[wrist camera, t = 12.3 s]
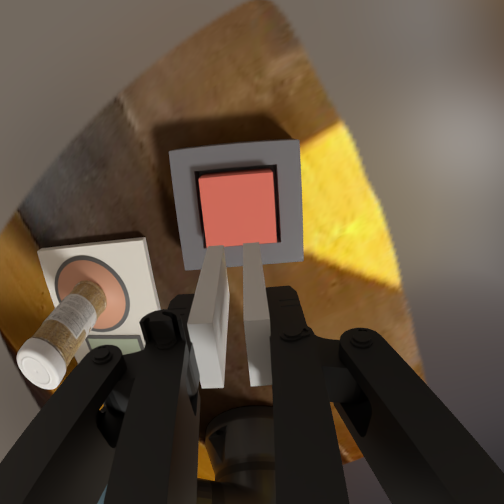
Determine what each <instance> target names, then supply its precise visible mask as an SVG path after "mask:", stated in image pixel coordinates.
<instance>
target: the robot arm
mask: <svg viewBox="0 0 504 504" xmlns="http://www.w3.org/2000/svg"><path fill="white" fill-rule="evenodd" d="M229 296H230V295H229V287H228V278H227V270H226V261H225V252H224V245H218V246H208V248H207V251H206V255H205V259H204V262H203V266H202V269H201V273H200V277H199V280H198V284H197V288H196V292H195V294H182V295H177V296H176V297H175V298H174V299H173V300H171V301H170V304H169V307H168V310H165V309H163V310H157V311H154V312H151V313H148V314H147V315H145V316H144V317H142V319H141V320H140V322H139V323H140V327H141V330H142V334H143V337H144V340H145V343H146V344H145V347H144V350H141V351H138V352H134V353H130V354H125V355H123V354H122V351H121V349H120V348H119V347H117V346H114V345H102V346H98V347H96V348H94V349H92V350H91V351H90V352H88V353H87V354H86V355H85V357H84V358H83V359H82V360H81V361H80V362H79V364H78V365H77V366H76V367H75V368H74V370H73V371H72V372H71V373H70V374H69V376H68V377H67V378H66V379H65V380H64V382H63V383H62V384H61V385H60V387H59V388H58V389H57V390H56V391H55V393H54V394H53V395H52V396H51V398H50V399H49V400H48V401H47V403H46V404H45V405H44V406H43V408H42V409H41V410H40V411H39V413H38V414H37V416H36V417H35V418H34V419H33V420H32V422H31V423H30V424H29V426H28V427H27V428H26V430H25V431H24V432H23V433H22V435H21V436H20V437H19V439H18V440H17V441H16V443H15V444H14V445H13V447H12V448H11V449H10V451H9V452H8V453H7V455H6V456H5V458H4V459H3V461H2V462H1V463H0V504H349V499H348V493H347V488H346V482H345V477H344V471H343V466H342V461H341V456H340V450H339V445H338V440H337V435H336V430H335V425H334V421H333V416H332V411H331V406H330V402H333V403H334V406H335V408H336V409H337V411H338V413H339V415H340V416H341V418H342V420H343V421H344V423H345V425H346V427H347V428H348V430H349V432H350V433H351V435H352V437H353V439H354V440H355V442H356V444H357V445H358V447H359V449H360V450H361V452H362V454H363V456H364V457H365V459H366V461H367V462H368V464H369V465H370V467H371V469H372V471H373V472H374V474H375V476H376V477H377V479H378V481H379V483H380V484H381V486H382V488H383V489H384V491H385V492H386V494H387V496H388V498H389V500H390V501H391V503H392V504H504V473H503V472H502V471H501V469H500V468H499V467H498V466H497V465H496V463H495V462H494V461H493V460H492V459H491V458H490V456H489V455H488V454H487V453H486V452H485V450H484V449H483V448H482V447H481V446H480V445H479V444H478V442H477V441H476V440H475V439H474V438H473V436H472V435H471V434H470V433H469V432H468V431H467V430H466V428H464V426H463V425H462V424H461V423H460V422H459V421H458V419H457V418H456V417H455V416H454V415H453V414H452V412H451V411H450V410H449V409H448V408H447V407H446V406H445V405H444V404H443V402H442V401H441V400H440V399H439V398H438V397H437V396H436V395H435V394H434V392H433V391H432V390H431V389H430V388H429V387H428V386H427V385H426V384H425V382H424V381H423V380H422V379H421V378H420V377H419V376H418V375H417V374H416V373H415V372H414V370H413V369H412V368H411V367H410V366H409V365H408V364H407V363H406V362H405V361H404V360H403V359H402V358H401V356H400V355H399V354H398V353H397V352H396V351H395V350H394V349H393V348H392V347H391V346H390V345H389V344H388V343H387V341H386V340H385V339H384V338H383V337H382V336H381V335H380V334H378V333H377V332H376V331H373V330H371V329H368V328H354V329H350V330H348V331H345V332H344V333H343V334H342V335H341V337H340V340H332V339H325V338H321V337H318V336H316V335H314V332H313V331H312V329H311V328H310V327H308V326H307V324H306V321H305V317H304V314H303V311H302V308H301V305H300V301H299V298H298V295H297V292H296V291H295V290H294V289H293V288H292V287H290V286H279V287H268V288H265V281H264V274H263V267H262V260H261V253H260V246H259V242H255V243H243V299H244V328H245V338H246V347H247V356H248V365H249V374H250V383H251V386H261V385H272V390H273V407H267V406H248V407H241V408H236V409H232V410H229V411H226V412H224V413H222V414H220V415H218V416H217V417H215V418H214V419H213V420H212V421H211V422H210V423H209V425H208V427H207V429H206V438H205V444H206V449H207V452H208V455H209V458H210V461H211V464H212V467H213V470H214V473H215V481H211V480H206V479H200V478H197V467H198V441H199V420H200V401H201V398H200V394H199V390H198V385H199V379H200V383H201V387H202V388H224V375H225V358H226V341H227V326H228V310H229ZM102 404H104V407H103V408H102V409H101V410H100V411H99V409H100V407H101V406H102Z"/></svg>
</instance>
